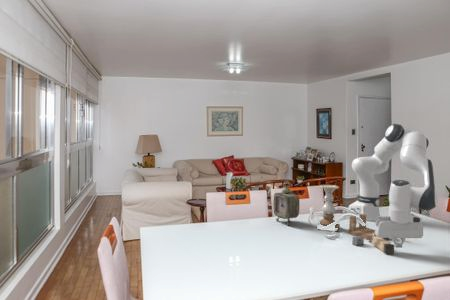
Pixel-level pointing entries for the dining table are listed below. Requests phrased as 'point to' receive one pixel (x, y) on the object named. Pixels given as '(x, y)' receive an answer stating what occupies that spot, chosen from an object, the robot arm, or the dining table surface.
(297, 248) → the dining table surface
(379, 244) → the hinged leg
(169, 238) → the dining table surface
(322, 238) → the dining table surface
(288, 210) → the tabletop clock
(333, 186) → the candle holder
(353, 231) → the stool seat
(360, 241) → the block
